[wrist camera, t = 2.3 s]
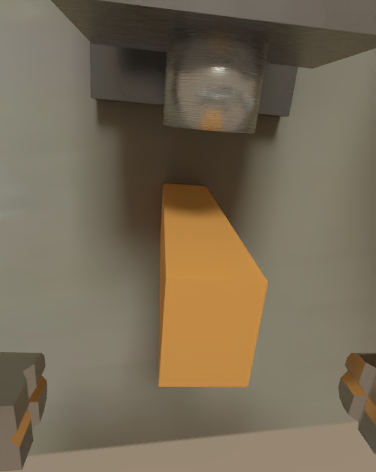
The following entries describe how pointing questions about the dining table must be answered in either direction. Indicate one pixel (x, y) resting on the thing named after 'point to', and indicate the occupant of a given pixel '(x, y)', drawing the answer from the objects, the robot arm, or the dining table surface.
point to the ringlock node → (215, 53)
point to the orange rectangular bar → (205, 294)
